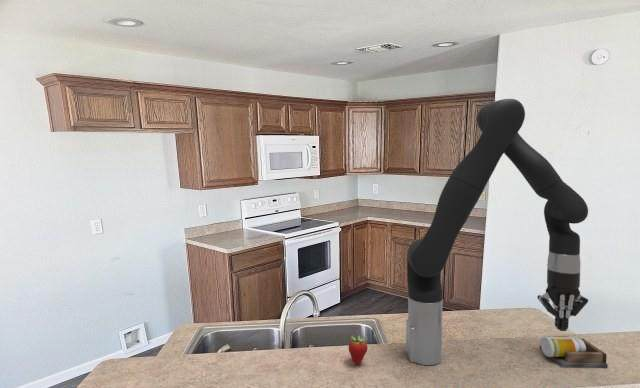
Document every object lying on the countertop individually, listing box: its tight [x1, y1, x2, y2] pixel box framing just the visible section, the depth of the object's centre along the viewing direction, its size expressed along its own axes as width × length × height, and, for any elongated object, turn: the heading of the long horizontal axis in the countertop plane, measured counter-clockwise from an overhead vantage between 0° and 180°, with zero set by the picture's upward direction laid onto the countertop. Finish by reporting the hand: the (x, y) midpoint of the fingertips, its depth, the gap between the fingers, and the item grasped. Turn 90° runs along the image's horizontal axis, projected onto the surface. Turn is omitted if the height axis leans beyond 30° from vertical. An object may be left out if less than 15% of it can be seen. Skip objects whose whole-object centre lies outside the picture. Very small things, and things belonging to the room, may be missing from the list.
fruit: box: [348, 335, 368, 365], centre depth 97 cm, size 5×5×8 cm
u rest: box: [539, 337, 609, 369], centre depth 99 cm, size 12×10×4 cm
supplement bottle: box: [540, 335, 586, 358], centre depth 98 cm, size 5×5×10 cm
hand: (561, 329), depth 99 cm, fingers closed
